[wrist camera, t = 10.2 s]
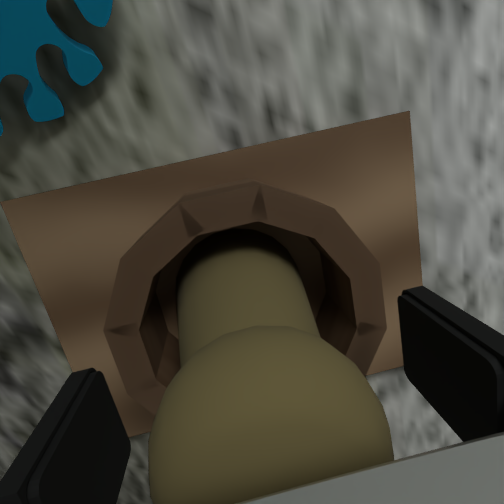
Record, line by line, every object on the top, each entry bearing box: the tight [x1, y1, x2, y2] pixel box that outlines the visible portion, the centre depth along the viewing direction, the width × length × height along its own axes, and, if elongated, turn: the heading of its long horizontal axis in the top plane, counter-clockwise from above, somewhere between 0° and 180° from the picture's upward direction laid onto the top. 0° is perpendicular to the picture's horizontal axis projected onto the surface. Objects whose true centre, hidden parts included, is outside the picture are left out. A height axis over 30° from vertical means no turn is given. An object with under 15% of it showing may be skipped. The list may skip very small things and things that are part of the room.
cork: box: [148, 228, 394, 504], centre depth 11 cm, size 6×6×11 cm
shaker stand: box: [0, 111, 423, 437], centre depth 15 cm, size 13×18×5 cm
